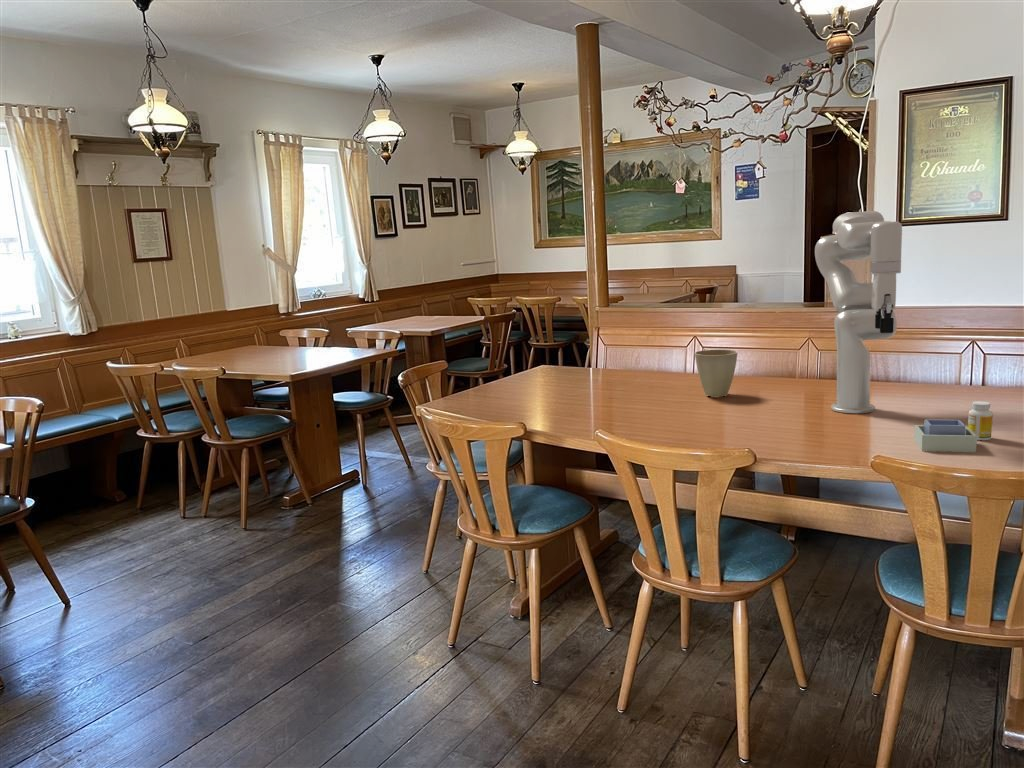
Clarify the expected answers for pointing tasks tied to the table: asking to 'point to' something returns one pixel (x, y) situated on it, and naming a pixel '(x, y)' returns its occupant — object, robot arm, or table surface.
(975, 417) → the supplement bottle
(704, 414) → the table surface
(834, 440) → the table surface
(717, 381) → the plant pot
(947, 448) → the large crate
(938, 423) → the small crate
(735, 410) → the table surface
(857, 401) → the robot arm
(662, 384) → the table surface
